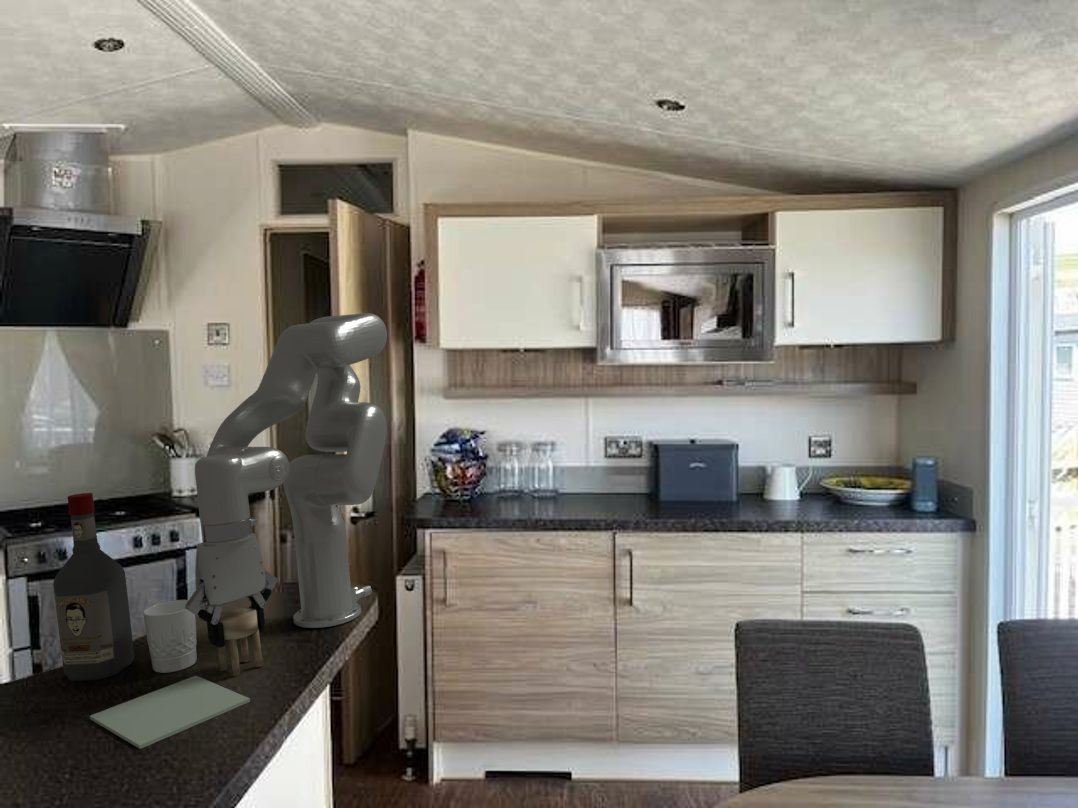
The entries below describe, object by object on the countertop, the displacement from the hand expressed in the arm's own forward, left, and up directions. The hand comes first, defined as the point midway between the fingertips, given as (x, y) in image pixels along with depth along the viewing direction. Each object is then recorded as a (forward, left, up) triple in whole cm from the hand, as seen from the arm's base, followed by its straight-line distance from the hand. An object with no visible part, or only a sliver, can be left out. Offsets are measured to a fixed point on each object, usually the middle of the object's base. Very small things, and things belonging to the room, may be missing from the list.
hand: (238, 637), depth 130 cm
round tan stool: (0, 0, -5) cm, 5 cm away
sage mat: (+14, +5, -5) cm, 16 cm away
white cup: (+5, -12, -6) cm, 14 cm away
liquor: (+13, -22, -6) cm, 26 cm away
